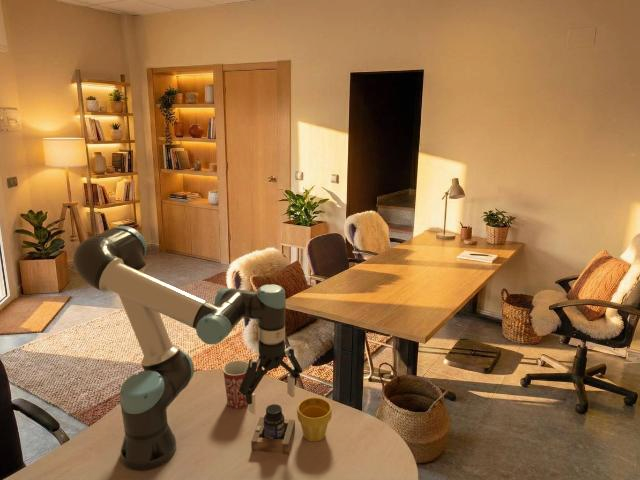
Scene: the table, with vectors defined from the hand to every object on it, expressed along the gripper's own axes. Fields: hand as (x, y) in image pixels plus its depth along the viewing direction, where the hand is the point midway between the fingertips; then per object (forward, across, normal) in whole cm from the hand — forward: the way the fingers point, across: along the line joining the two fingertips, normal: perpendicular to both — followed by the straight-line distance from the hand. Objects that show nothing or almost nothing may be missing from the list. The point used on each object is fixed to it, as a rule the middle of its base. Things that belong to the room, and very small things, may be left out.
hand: (271, 403), depth 144 cm
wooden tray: (+13, 0, 0) cm, 13 cm away
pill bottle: (+13, 0, -1) cm, 13 cm away
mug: (+13, +2, +24) cm, 27 cm away
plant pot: (+13, +12, -6) cm, 18 cm away
